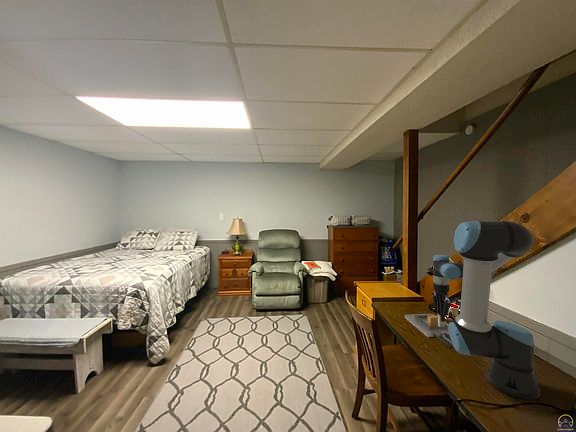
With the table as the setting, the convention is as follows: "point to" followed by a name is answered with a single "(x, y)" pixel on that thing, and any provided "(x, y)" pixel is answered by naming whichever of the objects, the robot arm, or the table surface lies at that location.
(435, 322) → the light brown block
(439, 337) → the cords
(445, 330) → the panel
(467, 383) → the table surface
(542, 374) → the table surface
